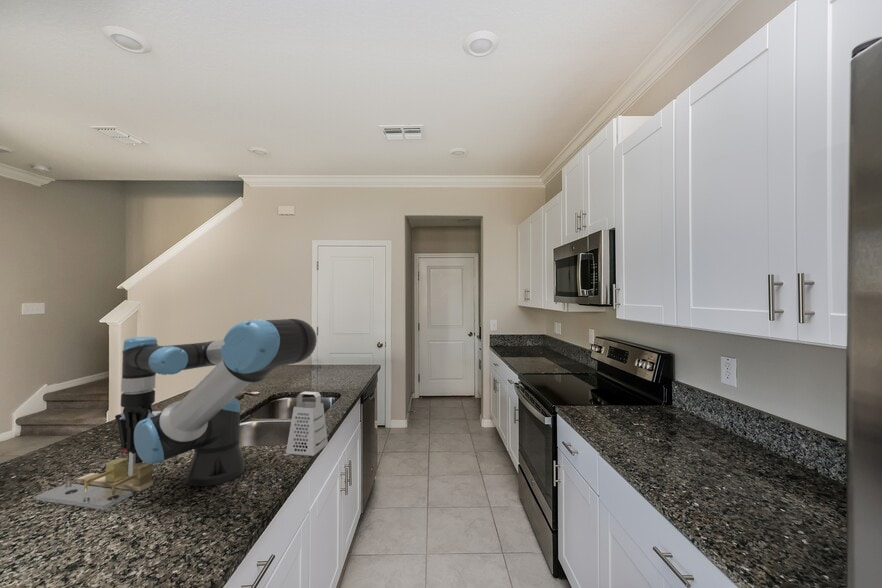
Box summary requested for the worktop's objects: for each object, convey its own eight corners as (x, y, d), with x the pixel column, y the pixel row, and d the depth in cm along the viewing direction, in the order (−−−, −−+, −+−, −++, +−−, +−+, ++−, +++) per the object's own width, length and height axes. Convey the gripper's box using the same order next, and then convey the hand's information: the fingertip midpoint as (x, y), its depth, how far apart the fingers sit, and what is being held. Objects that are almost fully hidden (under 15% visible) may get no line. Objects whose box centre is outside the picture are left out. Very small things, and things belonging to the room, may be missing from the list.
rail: (152, 484, 103) (153, 462, 103) (116, 503, 93) (117, 478, 93) (91, 476, 107) (92, 455, 107) (50, 493, 97) (51, 470, 97)
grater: (313, 455, 124) (315, 397, 124) (285, 453, 126) (287, 395, 126) (327, 444, 134) (329, 390, 135) (302, 442, 136) (303, 388, 137)
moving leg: (127, 476, 104) (128, 458, 104) (88, 493, 95) (89, 474, 95) (118, 475, 105) (119, 457, 105) (79, 492, 95) (80, 473, 96)
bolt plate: (131, 495, 97) (132, 490, 97) (103, 509, 90) (103, 504, 90) (67, 486, 101) (68, 481, 101) (35, 499, 94) (35, 494, 94)
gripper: (169, 389, 106) (166, 470, 105) (133, 386, 108) (130, 465, 108) (144, 395, 98) (140, 482, 98) (106, 392, 101) (102, 477, 100)
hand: (135, 473), depth 103 cm, fingers closed
